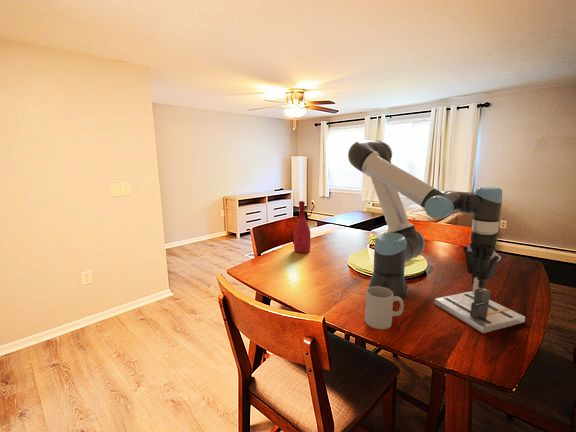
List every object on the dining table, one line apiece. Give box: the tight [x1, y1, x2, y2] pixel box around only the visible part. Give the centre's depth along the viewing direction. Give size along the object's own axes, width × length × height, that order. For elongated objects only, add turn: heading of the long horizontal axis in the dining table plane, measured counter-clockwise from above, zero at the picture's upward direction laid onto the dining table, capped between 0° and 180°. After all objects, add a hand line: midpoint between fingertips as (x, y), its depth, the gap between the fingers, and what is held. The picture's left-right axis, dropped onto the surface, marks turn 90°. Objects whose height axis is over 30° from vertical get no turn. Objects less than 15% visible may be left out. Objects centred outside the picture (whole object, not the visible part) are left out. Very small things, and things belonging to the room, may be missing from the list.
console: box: [433, 290, 526, 334], centre depth 97 cm, size 18×19×7 cm
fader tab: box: [474, 287, 491, 303], centre depth 100 cm, size 4×2×5 cm, turn 107°
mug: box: [364, 286, 405, 330], centre depth 92 cm, size 12×8×11 cm
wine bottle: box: [293, 200, 311, 254], centre depth 163 cm, size 10×10×30 cm
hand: (476, 294), depth 102 cm, fingers closed
